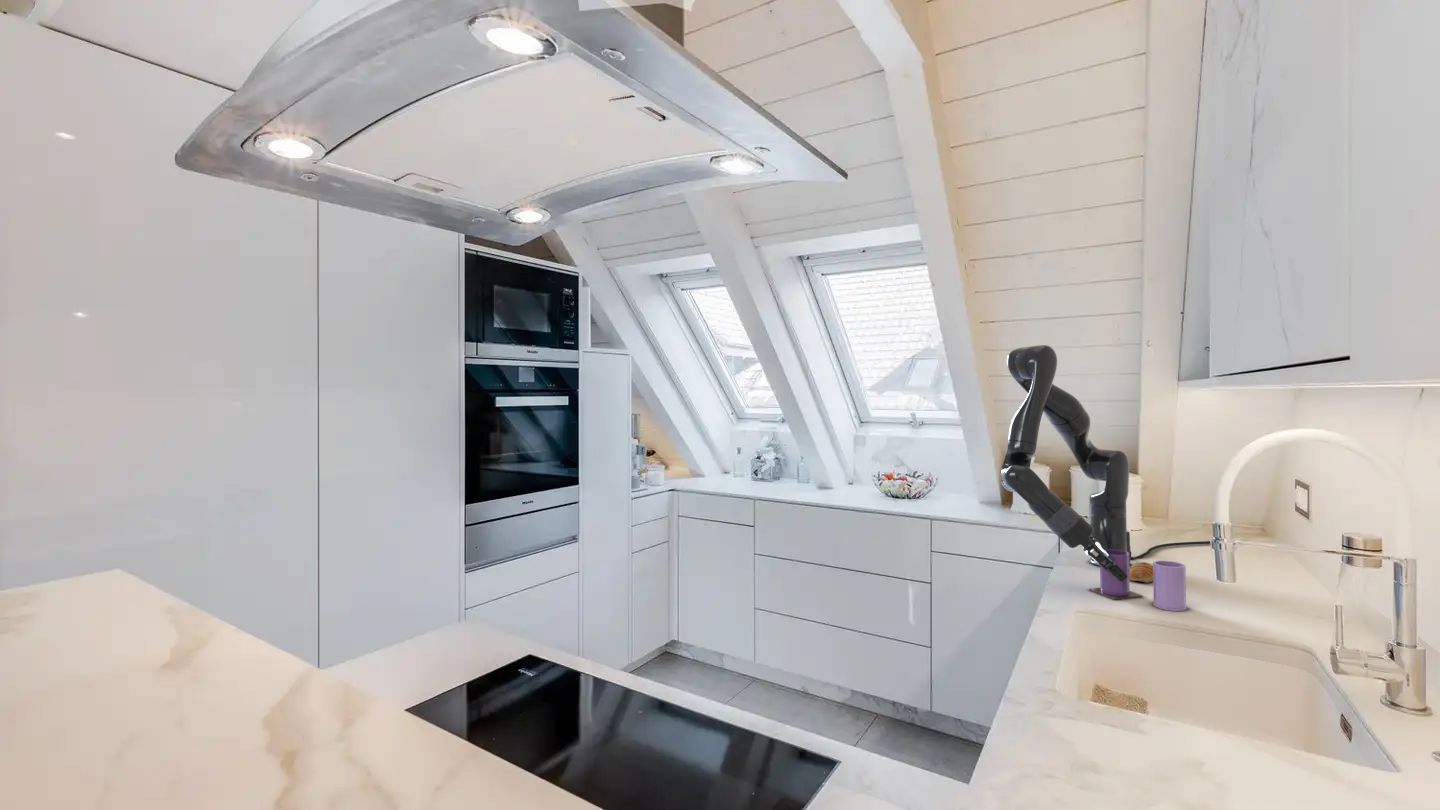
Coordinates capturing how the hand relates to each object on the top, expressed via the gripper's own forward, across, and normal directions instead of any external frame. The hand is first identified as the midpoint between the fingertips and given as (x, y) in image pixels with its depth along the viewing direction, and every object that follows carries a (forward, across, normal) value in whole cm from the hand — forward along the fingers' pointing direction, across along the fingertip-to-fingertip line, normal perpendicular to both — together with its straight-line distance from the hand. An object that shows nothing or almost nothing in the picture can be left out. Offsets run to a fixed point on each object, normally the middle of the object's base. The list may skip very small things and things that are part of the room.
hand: (1122, 575), depth 161 cm
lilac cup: (+9, -7, -3) cm, 12 cm away
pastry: (+8, +17, -1) cm, 19 cm away
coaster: (+2, 0, +4) cm, 5 cm away
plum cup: (+2, 0, +4) cm, 5 cm away
